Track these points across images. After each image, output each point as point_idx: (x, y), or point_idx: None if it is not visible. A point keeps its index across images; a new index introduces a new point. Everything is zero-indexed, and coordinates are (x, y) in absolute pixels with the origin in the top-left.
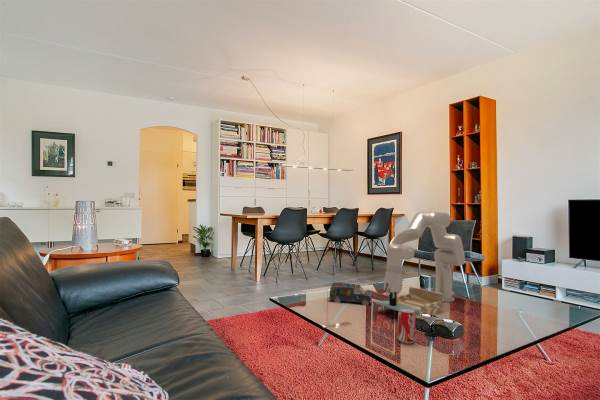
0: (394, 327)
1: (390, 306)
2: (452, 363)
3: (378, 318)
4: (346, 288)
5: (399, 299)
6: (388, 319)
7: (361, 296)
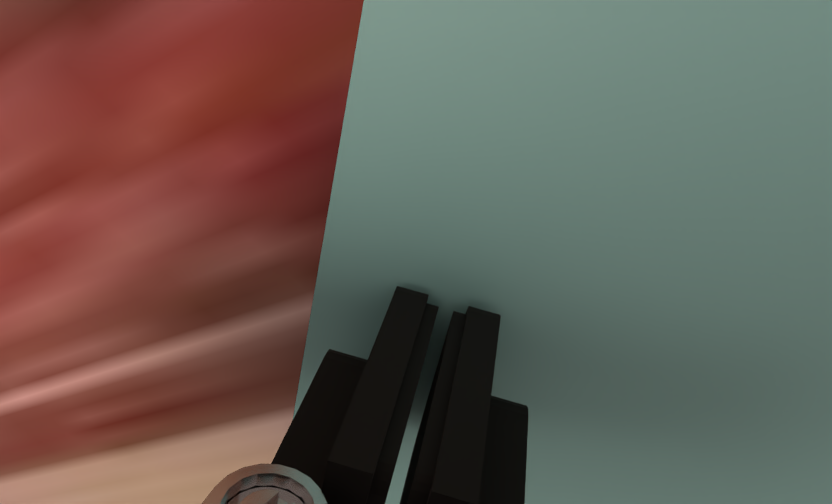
0: (45, 392)
1: (311, 333)
2: None
3: (162, 35)
4: None
5: None
6: (271, 213)
7: None
